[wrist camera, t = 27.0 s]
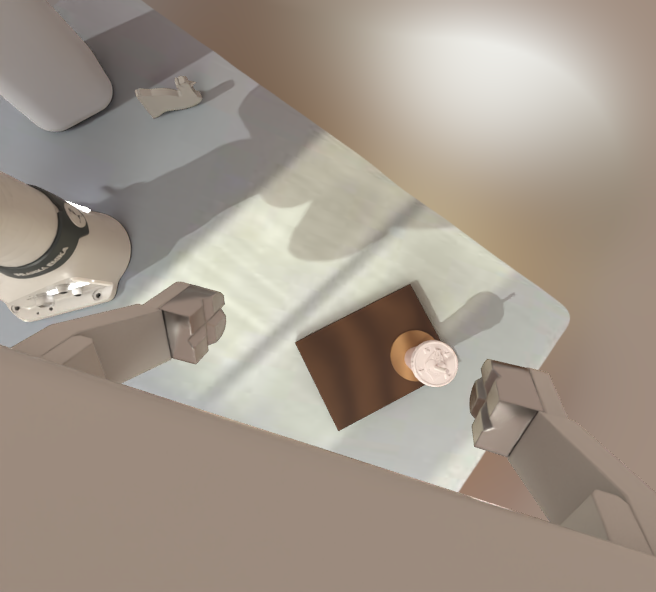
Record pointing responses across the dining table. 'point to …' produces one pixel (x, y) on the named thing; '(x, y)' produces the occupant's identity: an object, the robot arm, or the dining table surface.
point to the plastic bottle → (48, 67)
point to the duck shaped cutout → (169, 97)
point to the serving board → (367, 356)
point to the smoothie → (432, 363)
